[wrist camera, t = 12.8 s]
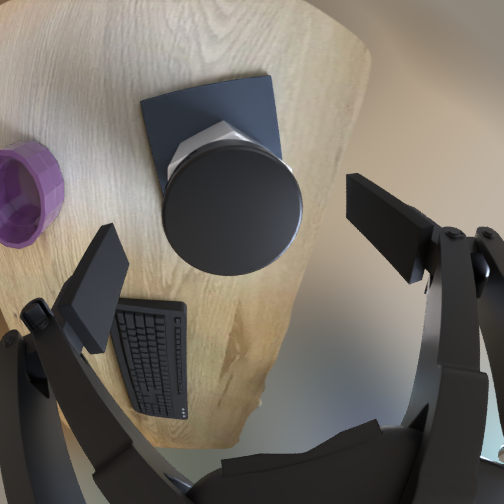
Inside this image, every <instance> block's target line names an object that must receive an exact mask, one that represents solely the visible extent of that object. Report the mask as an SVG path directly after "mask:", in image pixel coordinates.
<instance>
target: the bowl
mask: <svg viewBox="0 0 504 504" xmlns="http://www.w3.org/2000/svg"><path fill="white" fill-rule="evenodd" d="M63 200H64V180H63V176H62V173H61V170H60V167H59V164H58V162H57V160H56V159H55V158H54V156H53V155H52V153H51V152H50V151H49V149H48V148H46V147H44V146H43V145H41V144H39V143H37V142H36V141H19V142H16V143H14V144H11V145H9V146H6V147H4V148H2V149H0V243H1V244H3V245H4V246H6V247H11V248H17V249H21V248H24V247H26V246H29V245H32V244H33V243H34V242H35V241H36V239H37V238H38V237H39V236H40V235H41V234H42V233H43V232H44V230H45V229H46V228H47V227H48V226H49V225H50V224H51V223H52V222H53V221H54V219H55V218H56V217H57V216H58V215H59V212H60V209H61V206H62V203H63Z"/></svg>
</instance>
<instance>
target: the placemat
mask: <svg viewBox="0 0 504 504" xmlns="http://www.w3.org/2000/svg"><path fill="white" fill-rule="evenodd" d="M140 103H141V107H142V112H143V117H144V121H145V126H146V130H147V134H148V139H149V143H150V147H151V151H152V155H153V159H154V163H155V167H156V171H157V175H158V178H159V182H160V186H161V189H162V193H163V194H164V191H165V188H166V185H167V182H168V166H169V164H170V162H171V160H172V158H173V156H174V154H175V152H176V150H177V148H178V146H179V144H180V143H181V142H183V141H185V140H187V139H188V138H190V137H192V136H194V135H196V134H198V133H199V132H201V131H203V130H205V129H207V128H209V127H211V126H213V125H215V124H217V123H219V122H221V121H226V122H228V123H229V124H231V125H232V126H234V127H236V128H237V129H239V130H240V131H242V132H244V133H245V134H247V135H248V136H250V137H251V138H253V139H255V140H256V141H258V142H259V143H261V144H262V145H263V146H265V147H266V148H267V149H268V150H270V151H271V152H272V153H273V154H275V155H276V156H277V157H278V158H279V159H281V160H282V153H281V145H280V137H279V129H278V122H277V114H276V107H275V100H274V93H273V86H272V79H271V76H270V75H269V76H260V77H251V78H243V79H236V80H230V81H224V82H218V83H212V84H207V85H202V86H197V87H192V88H188V89H183V90H179V91H175V92H171V93H167V94H163V95H159V96H156V97H152V98H149V99H145V100H142V101H140Z"/></svg>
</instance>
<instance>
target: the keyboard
mask: <svg viewBox="0 0 504 504" xmlns="http://www.w3.org/2000/svg"><path fill="white" fill-rule="evenodd" d="M186 330H187V306H186V304H185V303H184V302H174V301H156V300H140V299H126V298H119V299H118V303H117V306H116V310H115V314H114V317H113V321H112V325H111V329H110V335H111V339H112V343H113V346H114V350H115V354H116V357H117V361H118V364H119V368H120V371H121V374H122V377H123V380H124V383H125V386H126V389H127V392H128V395H129V398H130V401H131V404H132V406H133V408H134V410H135V411H137V412H139V413H142V414H145V415H149V416H156V417H164V418H173V419H183V420H187V419H188V406H187V364H186Z"/></svg>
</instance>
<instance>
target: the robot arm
mask: <svg viewBox="0 0 504 504" xmlns="http://www.w3.org/2000/svg"><path fill="white" fill-rule="evenodd" d="M346 218H347V219H348V220H349V221H350V222H351V223H352V224H353V225H354V226H355V227H356V228H357V229H358V230H359V231H360V232H361V233H362V234H363V235H364V236H365V237H366V238H367V239H368V240H369V241H370V242H371V243H372V244H373V245H374V247H375V248H376V249H377V250H378V251H379V252H380V253H381V254H382V255H383V256H384V257H385V258H386V259H387V260H388V261H389V262H390V264H392V266H393V267H394V268H395V269H396V270H397V271H398V272H399V274H400V275H401V276H402V277H403V278H404V279H405V280H406V281H407V283H409V284H412V283H415V282H418V281H420V280H422V278H423V274H424V270H425V269H426V270H427V271H428V272H429V273H430V275H429V278H428V282H427V285H426V289H425V294H426V293H427V301H426V311H425V321H424V329H423V336H422V343H421V349H420V355H419V361H418V366H417V372H416V376H415V381H414V385H413V390H412V394H411V398H410V402H409V406H408V409H407V412H406V414H405V416H404V419H403V421H402V423H401V425H400V426H397V425H385V426H379V424H378V422H377V420H376V419H374V420H372V421H369V422H367V423H364V424H361V425H359V426H356V427H353V428H351V429H348V430H345V431H342V432H340V433H338V434H337V435H335V436H334V437H332V438H330V439H329V440H327V441H325V442H324V443H322V444H320V445H318V446H317V447H315V448H313V449H311V450H309V451H307V452H305V453H298V454H255V455H249V456H243V457H237V458H231V459H223V460H221V462H222V468H219V469H217V470H215V471H213V472H211V473H209V474H207V475H206V476H204V477H203V478H201V479H200V480H199V481H198V482H196V483H195V484H193V483H192V482H191V481H190V480H189V479H187V478H186V477H185V476H184V475H182V474H181V473H179V472H178V471H177V470H176V469H175V468H174V467H173V466H172V465H171V464H170V463H169V462H168V461H167V460H166V459H165V458H164V457H163V456H162V455H161V454H160V453H159V452H158V451H157V450H156V449H155V448H154V447H153V446H152V445H151V444H150V442H149V441H148V440H147V439H146V438H145V437H144V436H143V435H142V433H141V432H140V431H139V430H138V429H137V428H136V426H135V425H134V424H133V423H132V422H131V420H130V419H129V418H128V417H127V416H126V414H125V413H124V412H123V411H122V409H121V408H120V407H119V405H118V404H117V403H116V401H115V400H114V399H113V397H112V396H111V395H110V393H109V392H108V391H107V389H106V388H105V386H104V385H103V384H102V382H101V381H100V379H99V378H98V376H97V375H96V373H95V372H94V370H93V369H92V367H91V366H90V364H89V363H88V361H87V359H86V358H85V357H84V355H83V354H82V353H81V352H82V348H83V346H84V347H85V348H86V349H87V351H88V352H89V353H90V354H99V353H105V349H106V345H107V341H108V337H109V333H110V329H111V325H112V321H113V317H114V314H115V310H116V306H117V303H118V299H119V296H120V293H121V289H122V286H123V283H124V279H125V276H126V273H127V270H128V267H129V262H128V259H127V257H126V255H125V252H124V250H123V247H122V245H121V243H120V240H119V238H118V235H117V232H116V230H115V227H114V225H113V223H110V224H107V225H103V226H101V227H100V229H99V230H98V232H97V233H96V235H95V237H94V238H93V240H92V242H91V243H90V245H89V247H88V248H87V250H86V252H85V253H84V255H83V257H82V259H81V261H80V262H79V264H78V266H77V268H76V270H75V271H74V273H73V275H72V276H71V277H70V278H69V279H68V280H67V281H66V282H65V283H64V285H63V287H62V289H61V292H60V293H59V295H58V298H57V299H56V301H55V303H54V305H53V307H52V309H51V310H50V308H49V307H48V305H47V304H46V302H45V301H44V299H43V298H36V299H34V300H32V301H30V302H29V303H28V304H27V305H26V306H25V307H24V308H23V309H22V311H21V314H20V318H21V320H22V321H23V322H24V324H25V325H26V327H27V328H28V329H29V331H30V332H31V333H30V334H28V335H26V336H23V337H22V336H21V334H20V333H19V332H18V331H17V330H14V329H13V330H11V331H9V332H8V333H6V334H5V335H4V336H3V337H2V339H1V341H0V468H1V474H2V479H3V484H4V489H5V494H6V498H7V502H8V504H86V502H85V499H84V497H83V494H82V492H81V489H80V486H79V484H78V481H77V478H76V475H75V472H74V469H73V467H72V463H71V460H70V457H69V453H68V450H67V446H66V442H65V439H64V435H63V431H62V426H61V422H60V417H59V412H58V407H57V402H58V404H59V406H60V408H61V410H62V412H63V414H64V416H65V418H66V420H67V422H68V424H69V426H70V428H71V430H72V432H73V433H74V435H75V437H76V439H77V441H78V442H79V444H80V446H81V447H82V449H83V451H84V452H85V454H86V456H87V457H88V459H89V460H90V462H91V463H92V465H93V467H94V469H95V473H94V474H92V476H93V480H94V481H95V483H96V485H97V486H98V488H99V489H100V490H101V492H102V494H103V495H104V496H105V497H106V499H107V500H108V502H109V503H110V504H504V465H503V464H500V463H497V462H495V461H492V460H489V459H486V458H483V457H481V456H480V455H481V451H482V445H483V438H484V432H485V424H486V415H487V404H488V388H489V380H488V375H487V374H486V373H483V372H480V338H479V326H480V329H481V332H482V336H483V339H484V343H485V347H486V351H487V354H488V358H489V362H490V367H491V372H492V377H493V382H494V387H495V393H496V398H497V406H498V412H499V418H500V424H501V428H502V432H503V436H504V241H503V240H502V238H501V237H500V236H499V234H498V233H497V232H496V231H494V230H493V229H491V228H489V227H479V228H477V231H476V235H475V237H466V235H465V234H464V233H463V232H462V231H461V230H459V229H457V228H454V227H443V228H442V227H440V226H439V225H437V224H436V223H435V222H434V221H432V220H431V219H430V218H428V217H426V215H424V214H423V213H421V212H420V211H419V210H417V209H416V208H414V207H412V206H409V205H407V204H405V203H403V202H402V201H400V200H399V199H397V198H396V197H394V196H393V195H391V194H390V193H388V192H387V191H385V190H384V189H382V188H381V187H379V186H378V185H376V184H374V183H373V182H372V181H370V180H368V179H367V178H365V177H363V176H362V175H360V174H359V173H354V174H347V175H346ZM488 274H489V276H488ZM56 400H57V402H56ZM498 453H499V454H498V457H499V460H500V461H501V462H504V445H503V446H502V447H501V448H500V450H499V452H498Z"/></svg>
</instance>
